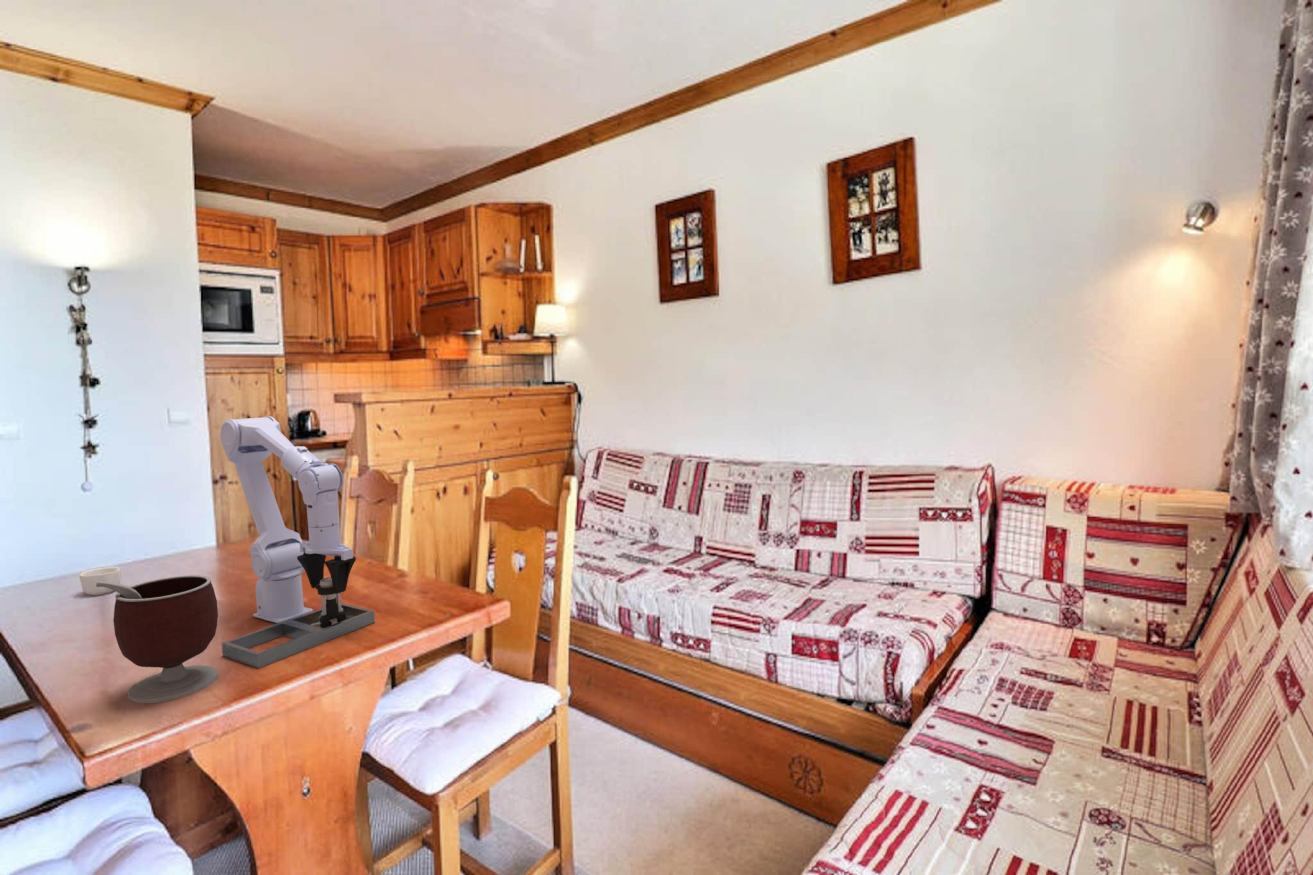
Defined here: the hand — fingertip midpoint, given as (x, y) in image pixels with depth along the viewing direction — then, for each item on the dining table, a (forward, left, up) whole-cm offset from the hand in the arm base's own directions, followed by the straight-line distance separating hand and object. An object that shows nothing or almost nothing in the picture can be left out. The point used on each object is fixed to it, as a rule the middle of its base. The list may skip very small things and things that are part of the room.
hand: (328, 589), depth 134 cm
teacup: (-75, -11, -8) cm, 76 cm away
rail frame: (0, -6, -8) cm, 10 cm away
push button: (0, 0, -8) cm, 8 cm away
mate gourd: (-1, -29, -8) cm, 30 cm away
